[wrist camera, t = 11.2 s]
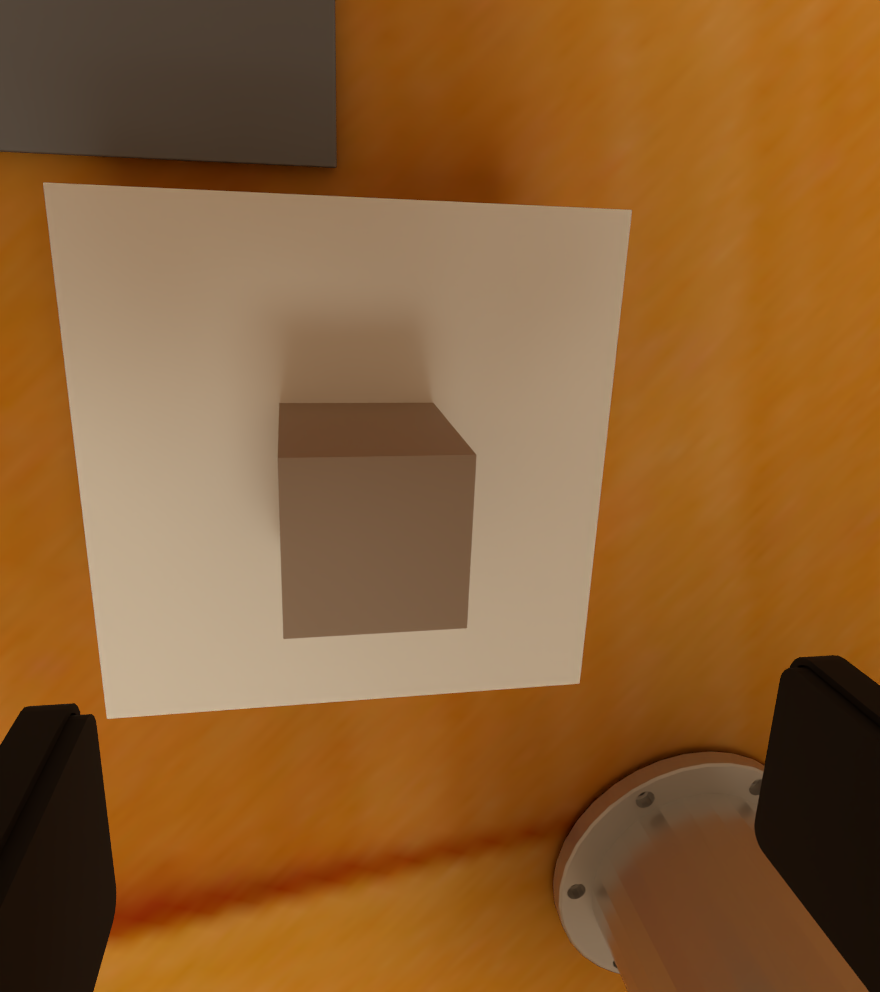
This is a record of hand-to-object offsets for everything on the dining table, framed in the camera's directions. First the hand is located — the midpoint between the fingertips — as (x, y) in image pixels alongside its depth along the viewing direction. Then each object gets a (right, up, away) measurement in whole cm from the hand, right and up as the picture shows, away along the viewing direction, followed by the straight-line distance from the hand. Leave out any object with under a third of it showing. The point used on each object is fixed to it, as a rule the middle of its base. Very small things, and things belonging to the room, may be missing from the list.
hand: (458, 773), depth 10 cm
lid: (-3, +5, +11) cm, 13 cm away
